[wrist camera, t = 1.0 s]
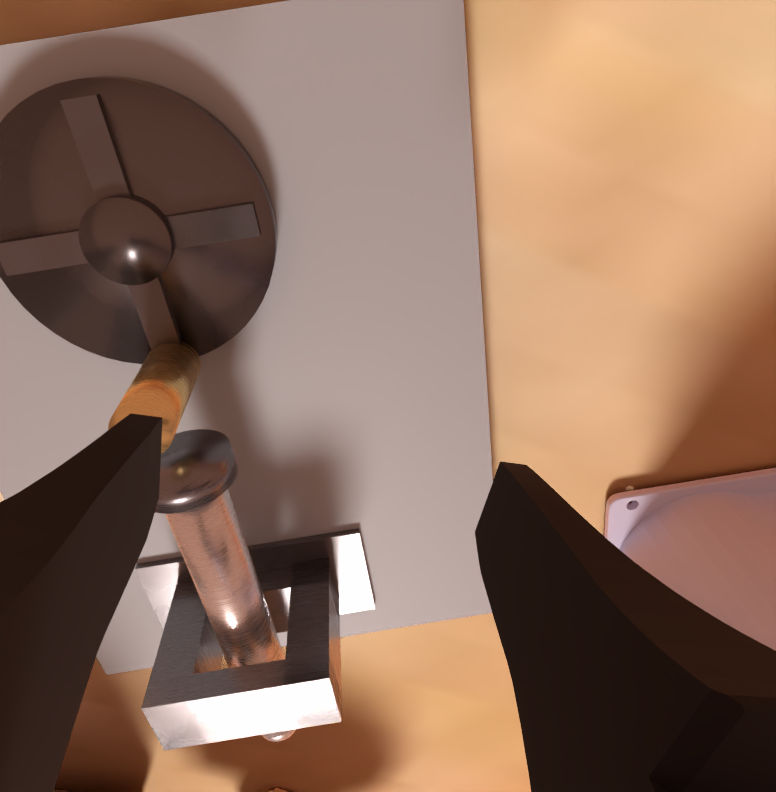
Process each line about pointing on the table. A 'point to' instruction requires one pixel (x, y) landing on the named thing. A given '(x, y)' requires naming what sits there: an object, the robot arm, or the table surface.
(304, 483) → the board
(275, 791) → the pneumatic valve
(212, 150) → the handwheel
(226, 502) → the headed rod
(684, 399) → the table surface
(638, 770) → the robot arm
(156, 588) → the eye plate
